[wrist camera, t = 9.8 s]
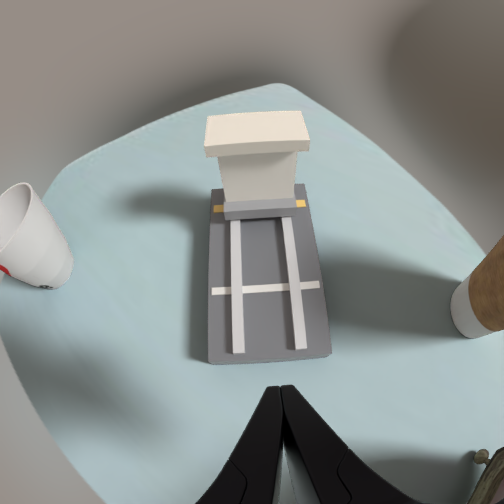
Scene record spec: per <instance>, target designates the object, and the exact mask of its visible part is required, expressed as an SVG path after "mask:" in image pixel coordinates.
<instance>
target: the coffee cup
mask: <svg viewBox="0 0 504 504" xmlns="http://www.w3.org/2000/svg"><path fill="white" fill-rule="evenodd" d="M450 309H451V316H452V319H453V322H454V324H455V326H456V328H457V329H458V330H459V332H460V333H461V334H463V335H464V336H466V337H468V338H472V339H473V338H479V337H482V336H485V335H488V334H491V333H493V332H496V331H501V330H504V235H503V237H502V238H501V239H500V240H499V242H498V243H497V244H496V245H495V247H494V248H493V249H492V250H491V251H490V253H489V254H488V255H487V256H486V257H485V258H484V259H483V261H482V262H481V263H480V264H479V265H478V266H477V267H476V268H475V269H474V271H473V272H472V273H471V274H470V275H469V276H468V277H467V278H466V279H465V280H464V281H463V282H462V283H461V284H460V285H459V286H458V287H457V288H456V289H455V291H454V292H453V295H452V297H451V303H450Z"/></svg>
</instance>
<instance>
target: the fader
mask: <svg viewBox="0 0 504 504" xmlns="http://www.w3.org/2000/svg"><path fill="white" fill-rule="evenodd" d="M309 145H310V138H309V135H308V132H307V128H306V125H305V122H304V119H303V116H302V113H301V111H267V112H249V113H236V114H225V115H215V116H208V118H207V126H206V134H205V142H204V148H205V153H206V157H218V163H219V168H220V173H221V178H222V184H223V189H224V216H225V220H237V219H252V218H267V217H284V216H296V212H297V204H296V198H295V193H294V184H295V173H296V162H297V152H301V151H309Z"/></svg>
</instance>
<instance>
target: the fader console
mask: <svg viewBox="0 0 504 504" xmlns="http://www.w3.org/2000/svg"><path fill="white" fill-rule="evenodd" d="M294 193H295V198H296V204H297V212H296V216H284V217H267V218H252V219H237V220H225V216H224V189H212V193H211V213H210V238H209V273H208V362H209V363H211V364H213V365H225V364H252V363H269V362H283V361H295V360H305V359H314V358H323V357H327V356H329V355H330V354H332V348H331V339H330V331H329V323H328V316H327V309H326V302H325V295H324V288H323V282H322V275H321V269H320V263H319V257H318V252H317V246H316V240H315V235H314V230H313V224H312V219H311V214H310V209H309V204H308V199H307V194H306V190H305V185H304V184H294Z"/></svg>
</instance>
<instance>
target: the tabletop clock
mask: <svg viewBox="0 0 504 504" xmlns="http://www.w3.org/2000/svg"><path fill="white" fill-rule="evenodd" d="M488 457H489V452H488V451H487V450H486V449H481V450H479V451H478V452H477V453H476V454H475V456H474V462H475V463H476V464H483V463H485V464H486V465H487V466H486V468H485V470H484V471H483V473H482V475H481V477H480V479H479V481H478V483H477V485H476V487H475V489H474V491H473V493H472V495H471V497H470V499H469V500H468V502H467V504H495V503H497V502H498V501H500V500H501V499H503V498H504V447H502V448H500V449H498V450H497V451H496V452H495V454H494V455H493V457H492V458H491V460H490V459H488Z"/></svg>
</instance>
